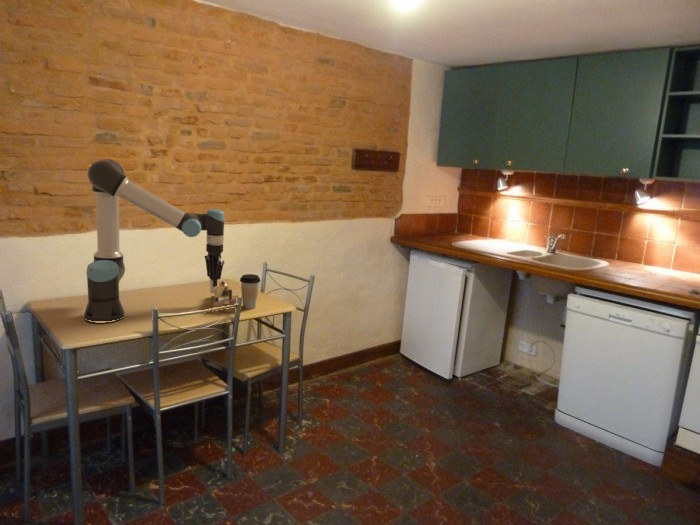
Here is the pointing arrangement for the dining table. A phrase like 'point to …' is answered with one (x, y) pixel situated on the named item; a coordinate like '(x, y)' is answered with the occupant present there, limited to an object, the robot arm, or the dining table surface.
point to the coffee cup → (249, 290)
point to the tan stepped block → (224, 303)
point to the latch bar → (220, 289)
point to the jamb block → (225, 292)
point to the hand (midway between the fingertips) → (213, 292)
